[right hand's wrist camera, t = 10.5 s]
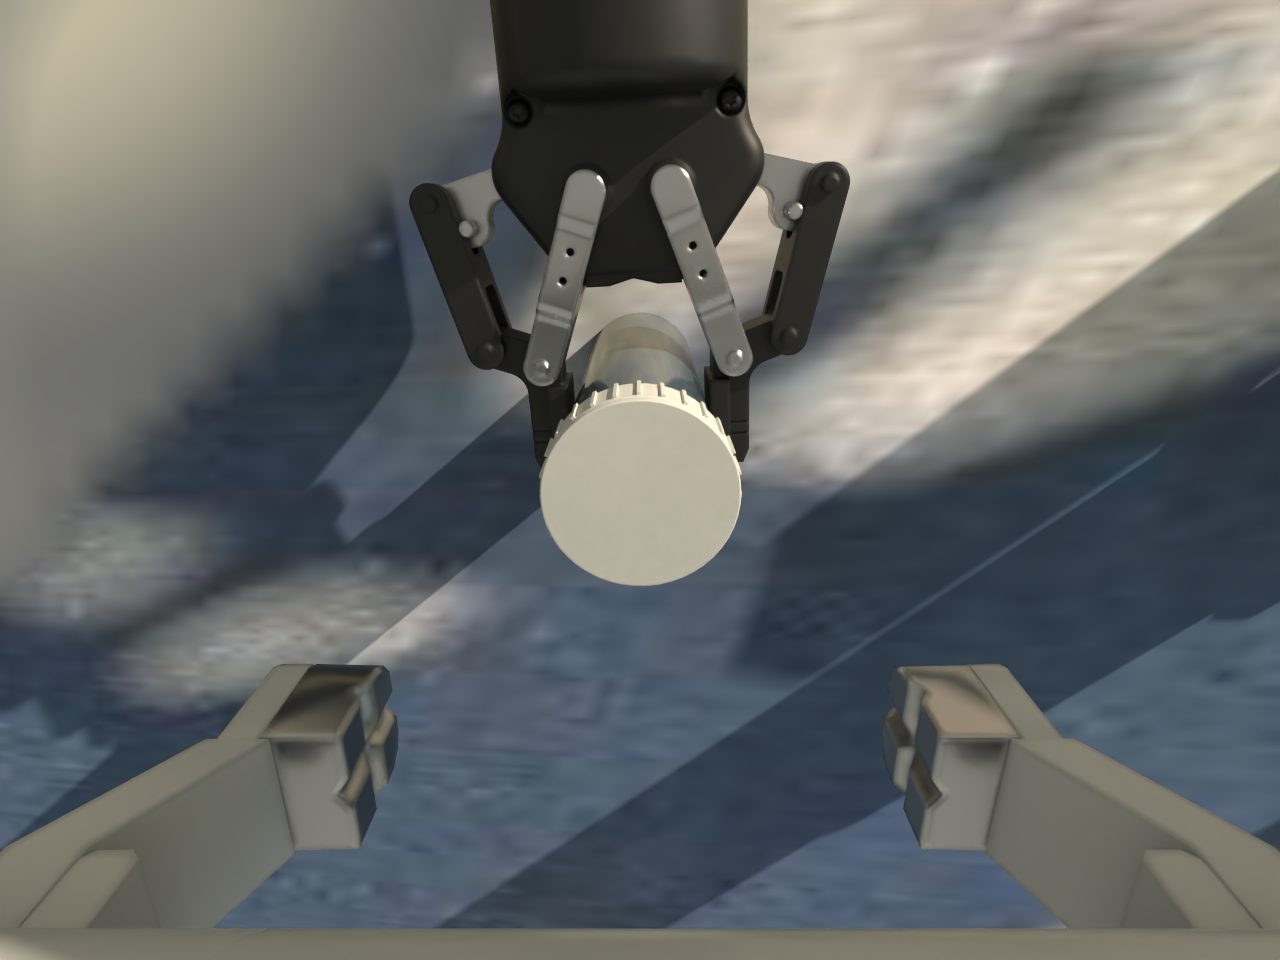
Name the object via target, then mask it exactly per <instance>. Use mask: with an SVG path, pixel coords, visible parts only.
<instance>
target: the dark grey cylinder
mask: <svg viewBox="0 0 1280 960" xmlns="http://www.w3.org/2000/svg"><path fill="white" fill-rule="evenodd" d="M637 380H641V383H649V384H656V385H660V382H662V383H664V386H665V387H669V388H673V389H675V390H677V391H680V392H681V391H682V389H683V390H685V391H686V394H687V395H688V396H690V397H691V398H693V399H695V400H696V401H697V402H699V403H700V402H701V401H702V402H704V403H705V406H706V409H707V410H708V408H707V405H706V401H705V398H704V395H703V392H702V389H701V386H700V383H699V379H698V376H697V373H696V370H695V367H694V364H693V361H692V357H691V354H690V351H689V348H688V345H687V343H686V341H685V339H684V337H683V335H682V334H681V333H680V331H679V330H678V329H677V328H676V327H675V326H674V325H673V324H671V323H670V322H669V321H667V320H665V319H664V318H661V317H659V316H656V315H653V314H648V313H633V314H628V315H625V316H622V317H620V318H617V319H616V320H614V321H612V322H611V323H610V324H608V325H607V326H606V327H605V328H604V329H603V330H602V331H601V333H600V334H599V335H598V337H597V339H596V341H595V343H594V345H593V348H592V351H591V354H590V357H589V361H588V364H587V367H586V370H585V373H584V376H583V379H582V382H581V386H580V389H579V392H578V395H577V398H576V401H575V404H576V403H578V405H580V404H581V403H582V402H584V401H585V400H586V399H588V398H590V397H591V396H592V392H594V391H597V393H598V392H601V391H603V390H606V389H608V388H612V387H613V386H614V384H615V383H618V385H625V384H633V383H637ZM575 404H574V405H575Z"/></svg>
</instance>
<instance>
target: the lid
mask: <svg viewBox="0 0 1280 960" xmlns="http://www.w3.org/2000/svg"><path fill="white" fill-rule="evenodd" d="M554 436H555V437H554V439H553V438H551V439H550V441H549V444H548V446H547V449H546V452H545V455H544V456H545V457H547V459H546V458H545V460H544V463H543V466H542V469H541V471H540V474H539V478H541V482H540V495H539V498H540V504H541V509H542V515H543V518H544V521H545V524H546V526H547V528H548V530H549V532H550V534H551V536H552V538H553V540H554V541H555V543H556V544H557V545H558V547H559V548H560V549H561V550H562V552H563V553H564V554H565V555H566V556H567V557H568V558H569V559H570V560H572V561H573V562H574V563H575V564H576V565H578V566H579V567H580V568H582V569H583V570H585V571H586V572H588V573H590V574H592V575H594V576H596V577H598V578H601V579H604V580H607V581H609V582H613V583H618V584H622V585H630V586H650V585H659V584H663V583H668V582H672V581H674V580H677V579H680V578H683V577H685V576H687V575H689V574H691V573H693V572H694V571H696V570H697V569H699V568H700V567H702V566H704V565H705V564H706V563H707V562H708V561H709V560H711V559H712V558H713V557H714V556H715V555H716V554H717V553H718V551H719V550H720V549H721V548H722V547H723V545H724V544H725V542H726V541H727V540H728V538H729V536H730V534H731V532H732V530H733V528H734V526H735V523H736V520H737V518H738V514H739V509H740V504H741V497H742V492H741V483H740V476H739V475H742V474H741V470H740V467H739V464H738V462H737V459H736V456H733V454H736V452H735V449H734V447H733V444H732V441H731V439H730V436H729V435H728V436H726V435H725V432H724V430H723V427H722V424H721V421H720V419H719V418H718V417H716V418H714V416H713V415H712V414H711V413H710V412H709V411H708V410H707V409H706V406H705V403H704V402H702V401H701V402H700V403H699V402H697V401H696V400H695V399H693V398H691V397H690V396H688V395H687V394H686V391H685V390H683V389H682V391H681V392H680V391H677V390H675V389H673V388H669V387H665V386H664V383H662V382H660V385H656V384H649V383H641V380H637V383H633V384H625V385H618V383H615V384H614V386H613V387H612V388H608V389H606V390H603V391H601V392H598V393H597V391H594V392H592V396H591V397H590V398H588V399H586V400H585V401H584V402H582V403H581V404H580V405H578V403H576V404H575V405H574V407H573V410H572V412H571V413H570V414H569V415H568V416H567V418H566V419H565V420H562V419H561V420H560V422H559V424H558V427H557V430H556V433H555V435H554Z"/></svg>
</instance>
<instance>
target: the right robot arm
mask: <svg viewBox="0 0 1280 960" xmlns="http://www.w3.org/2000/svg"><path fill="white" fill-rule="evenodd" d="M391 692H392V685H391V680H390V674H389V671H388V670H387V669H386V668H385V667H384V666H376V665H329V664H316V665H313V664H281V665H279V666H276V667H274V668H273V669H272V670H271V671H270V672H269V674H268V675H267V676H266V677H265V679H264V680H263V681H262V683H261V684H260V685H259V686H258V688H257V689H256V690H255V691H254V693H253V694H252V695H251V696H250V698H249V699H248V700H247V702H246V703H245V704H244V705H243V707H242V708H241V709H240V710H239V712H238V713H237V714H236V715H235V717H234V718H233V719H232V720H231V722H230V723H229V724H228V726H227V727H226V728H225V729H224V731H223V732H222V733H221V734H220V736H219V737H218V738H217V739H205V740H203V741H201V742H199V743H197V744H195V745H194V746H192V747H190V748H188V749H186V750H184V751H182V752H181V753H179V754H177V755H175V756H173V757H171V758H169V759H168V760H166V761H164V762H162V763H160V764H158V765H156V766H155V767H153V768H151V769H149V770H147V771H145V772H143V773H142V774H140V775H138V776H136V777H134V778H132V779H130V780H129V781H127V782H125V783H123V784H121V785H119V786H117V787H116V788H114V789H112V790H110V791H108V792H106V793H104V794H103V795H101V796H99V797H97V798H95V799H93V800H91V801H90V802H88V803H86V804H84V805H82V806H80V807H79V808H77V809H75V810H73V811H71V812H69V813H67V814H66V815H64V816H62V817H60V818H58V819H56V820H54V821H53V822H51V823H49V824H47V825H45V826H43V827H41V828H40V829H38V830H36V831H34V832H32V833H30V834H28V835H27V836H25V837H23V838H21V839H19V840H17V841H15V842H14V843H12V844H10V845H8V846H6V847H5V848H4V849H3V850H2V851H1V852H0V960H1280V852H1279V851H1278V850H1277V849H1276V848H1275V847H1273V846H1271V845H1270V844H1268V843H1266V842H1264V841H1262V840H1260V839H1258V838H1257V837H1255V836H1253V835H1251V834H1249V833H1247V832H1246V831H1244V830H1242V829H1240V828H1238V827H1236V826H1234V825H1233V824H1231V823H1229V822H1227V821H1225V820H1223V819H1221V818H1220V817H1218V816H1216V815H1214V814H1212V813H1210V812H1209V811H1207V810H1205V809H1203V808H1201V807H1199V806H1197V805H1196V804H1194V803H1192V802H1190V801H1188V800H1186V799H1184V798H1183V797H1181V796H1179V795H1177V794H1175V793H1173V792H1172V791H1170V790H1168V789H1166V788H1164V787H1162V786H1160V785H1159V784H1157V783H1155V782H1153V781H1151V780H1149V779H1147V778H1146V777H1144V776H1142V775H1140V774H1138V773H1136V772H1135V771H1133V770H1131V769H1129V768H1127V767H1125V766H1123V765H1122V764H1120V763H1118V762H1116V761H1114V760H1112V759H1110V758H1109V757H1107V756H1105V755H1103V754H1101V753H1099V752H1097V751H1096V750H1094V749H1092V748H1090V747H1088V746H1086V745H1085V744H1083V743H1081V742H1079V741H1077V740H1075V739H1063V738H1062V737H1061V736H1060V734H1059V733H1058V732H1057V731H1056V729H1055V728H1054V727H1053V726H1052V724H1051V723H1050V722H1049V721H1048V719H1047V718H1046V717H1045V716H1044V714H1043V713H1042V712H1041V711H1040V709H1039V708H1038V707H1037V705H1036V704H1035V703H1034V702H1033V700H1032V699H1031V698H1030V697H1029V695H1028V694H1027V693H1026V692H1025V690H1024V689H1023V688H1022V687H1021V685H1020V684H1019V683H1018V682H1017V680H1016V679H1015V678H1014V676H1013V675H1012V674H1011V673H1010V671H1009V670H1008V669H1007V668H1006V667H1004V666H1002V665H1000V664H972V665H963V666H894V668H893V670H892V672H891V674H890V678H889V684H888V692H889V694H890V697H891V699H892V701H893V703H894V706H893V707H892V708H891V709H890V710H889V711H888V712H887V713H886V714H885V715H884V718H883V727H882V748H883V757H884V761H885V765H886V769H887V772H888V774H889V776H890V779H891V781H892V784H894V785H895V786H896V787H898V788H899V789H900V790H902V791H903V792H904V793H906V795H905V801H904V807H903V809H904V811H905V814H906V816H907V818H908V821H909V823H910V825H911V827H912V830H913V832H914V834H915V836H916V839H917V841H918V843H919V845H920V848H925V849H961V850H986V851H985V854H987V855H988V856H989V857H990V858H991V859H992V860H993V861H994V862H995V863H997V864H998V865H999V866H1000V867H1001V868H1002V869H1003V870H1004V871H1006V872H1007V873H1008V874H1009V875H1010V876H1011V877H1012V878H1013V879H1014V880H1016V881H1017V882H1018V883H1019V884H1020V885H1021V886H1022V887H1023V888H1025V889H1026V890H1027V891H1028V892H1029V893H1030V894H1031V895H1032V896H1033V897H1035V898H1036V899H1037V900H1038V901H1039V902H1040V903H1041V904H1042V905H1044V906H1045V907H1046V908H1047V909H1048V910H1049V911H1050V912H1051V913H1053V914H1054V915H1055V916H1056V917H1057V918H1058V919H1059V920H1060V921H1061V922H1063V923H1064V924H1065V925H1066V926H1067V927H1068V928H1069V929H757V928H333V929H248V928H212V927H213V926H214V925H215V924H217V923H218V922H219V921H220V920H221V919H222V918H223V917H224V916H225V915H227V914H228V913H229V912H230V911H231V910H232V909H233V908H234V907H236V906H237V905H238V904H239V903H240V902H241V901H242V900H243V899H245V898H246V897H247V896H248V895H249V894H250V893H251V892H252V891H254V890H255V889H256V888H257V887H258V886H259V885H260V884H261V883H262V882H264V881H265V880H266V879H267V878H268V877H269V876H270V875H271V874H273V873H274V872H275V871H276V870H277V869H278V868H279V867H280V866H282V865H283V864H284V863H285V862H286V861H287V860H288V859H289V858H291V857H292V856H293V855H294V853H295V852H294V850H318V849H353V848H360V846H361V843H362V841H363V839H364V837H365V834H366V832H367V830H368V827H369V825H370V823H371V821H372V818H373V816H374V814H375V811H376V809H377V807H376V801H375V795H374V793H376V792H377V791H378V790H380V789H381V788H382V787H384V786H385V785H386V784H388V781H389V779H390V776H391V774H392V771H393V769H394V765H395V760H396V755H397V750H398V725H397V718H396V715H395V714H394V713H393V712H392V711H391V710H390V709H389V708H388V707H387V706H386V703H387V701H388V699H389V697H390V694H391Z"/></svg>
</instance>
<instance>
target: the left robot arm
mask: <svg viewBox="0 0 1280 960" xmlns="http://www.w3.org/2000/svg"><path fill="white" fill-rule="evenodd" d="M490 6H491V15H492V24H493V34H494V43H495V52H496V62H497V71H498V80H499V89H500V99H501V108H502V130H501V137H500V140H499V144H498V147H497V149H496V152H495V154H494V157H493V160H492V168H491V169H489V170H486V171H483V172H480V173H477V174H474V175H472V176H469V177H466V178H463V179H460V180H457V181H454V182H451V183H448V184H430V183H425V184H421V185H419V186H417V187H416V188H415V189H414V190H413V191H412V193H411V196H410V200H409V204H410V209H411V212H412V214H413V217H414V219H415V222H416V224H417V227H418V230H419V232H420V235H421V237H422V240H423V242H424V245H425V247H426V250H427V253H428V255H429V258H430V260H431V263H432V265H433V268H434V270H435V273H436V276H437V278H438V281H439V283H440V286H441V288H442V291H443V293H444V296H445V299H446V301H447V304H448V306H449V309H450V311H451V314H452V316H453V319H454V322H455V324H456V327H457V329H458V332H459V334H460V337H461V339H462V342H463V345H464V347H465V350H466V352H467V355H468V357H469V359H470V361H471V362H472V363H473V364H474V365H475V366H476V367H478V368H480V369H484V370H490V369H493V368H494V369H497V370H500V371H504V372H507V373H511V374H513V375H515V376H517V377H519V378H520V379H521V380H522V381H523V382H524V383H525V385H526V387H527V389H528V393H529V401H530V410H531V419H532V428H533V437H534V446H535V455H536V459H537V461H538V463H539V465H540V467H541V468H542V466H543V463H544V460H545V458H546V459H547V457H545V456H544V455H545V452H546V449H547V446H548V444H549V441H550V439H551V438H553V439H554V437H555V436H554V435H555V433H556V430H557V427H558V424H559V422H560V420H561V419H562V420H565V419H566V418H567V416H568V415H569V414H570V413H571V412H572V410H573V407H574V404H575V394H574V383H573V373H566V362H565V360H566V356H567V352H568V349H569V345H570V341H571V338H572V334H573V330H574V326H575V323H576V319H577V315H578V312H579V309H580V306H581V302H582V299H583V295H584V291H585V287H603V286H611V285H614V284H617V283H620V282H623V281H626V280H629V279H633V278H635V279H640V280H644V281H649V282H653V283H658V284H659V283H678V282H682V279H683V280H684V283H685V285H686V288H687V291H688V293H689V296H690V298H691V301H692V303H693V306H694V308H695V311H696V313H697V316H698V319H699V321H700V324H701V326H702V329H703V331H704V334H705V337H706V339H707V342H708V344H709V347H710V366H704V382H705V401H706V405H707V408H708V411H709V412H710V413H711V414H712V415H713V416H714V418H716V417H718V418H719V419H720V421H721V424H722V427H723V430H724V432H725V435H726V436H728V435H729V436H730V439H731V441H732V444H733V447H734V449H735V452H736V454H733V456H736V459H737V462H743V461H744V459H745V456H746V454H747V451H748V449H749V379H750V376H751V373H752V372H753V370H754V369H755V368H756V367H757V366H758V365H759V364H760V363H762V362H764V361H766V360H769V359H771V358H774V357H776V356H779V355H781V354H783V355H793V354H796V353H798V352H799V351H800V350H801V349H802V348H803V347H804V346H805V344H806V341H807V338H808V335H809V331H810V327H811V324H812V320H813V316H814V313H815V309H816V306H817V302H818V298H819V295H820V291H821V287H822V284H823V280H824V277H825V273H826V269H827V266H828V262H829V258H830V255H831V251H832V247H833V244H834V240H835V237H836V233H837V229H838V226H839V222H840V218H841V215H842V211H843V208H844V204H845V200H846V197H847V193H848V189H849V185H850V176H849V173H848V171H847V169H846V168H845V167H844V166H843V165H842V164H840V163H838V162H820V163H815V164H812V163H807V162H803V161H798V160H793V159H789V158H784V157H779V156H775V155H770V154H765V153H764V150H763V146H762V143H761V141H760V139H759V137H758V135H757V134H756V132H755V130H754V127H753V125H752V122H751V119H750V115H749V110H748V98H747V55H748V0H490ZM756 186H758V187H760V188H762V189H763V190H764V191H765V193H766V195H767V197H768V202H769V206H768V216H769V219H770V221H771V223H772V224H773V225H774V226H776V227H777V228H780V229H783V232H782V236H781V240H780V244H779V248H778V252H777V256H776V260H775V264H774V268H773V272H772V276H771V280H770V284H769V288H768V292H767V296H766V300H765V304H764V308H763V312H762V315H761V316H759V317H757V318H754V319H752V320H750V321H747V322H745V323H741V321H740V318H739V315H738V313H737V310H736V307H735V304H734V300H733V296H732V293H731V290H730V288H729V285H728V282H727V279H726V277H725V274H724V271H723V269H722V266H721V263H720V260H719V258H718V255H717V252H716V249H715V248H716V247H717V245H718V244H719V242H720V240H721V239H722V237H723V236H724V234H725V233H726V231H727V230H728V228H729V227H730V225H731V224H732V222H733V221H734V219H735V218H736V216H737V215H738V213H739V211H740V210H741V208H742V207H743V205H744V204H745V202H746V201H747V199H748V198H749V196H750V195H751V193H752V192H753V190H754V189H755V187H756ZM502 200H503V201H504V202H505V204H506V205H507V206H508V207H509V209H510V210H511V211H512V212H513V213H514V215H515V216H516V217H517V218H518V220H519V221H520V222H521V223H522V224H523V226H524V227H525V228H526V229H527V231H528V232H529V233H530V234H531V235H532V237H533V238H534V239H535V240H536V242H537V243H538V244H539V245H540V246H541V248H542V249H543V250H544V251H545V253H546V254H547V255H548V256H549V258H548V262H547V266H546V270H545V274H544V278H543V282H542V286H541V290H540V294H539V298H538V302H537V307H536V316H535V320H534V324H533V329H532V333H531V334H528V333H525V332H522V331H518V330H515V329H512V326H511V324H510V321H509V318H508V315H507V313H506V310H505V307H504V304H503V302H502V299H501V296H500V293H499V291H498V288H497V285H496V282H495V280H494V277H493V274H492V271H491V269H490V266H489V263H488V260H487V258H486V255H485V252H484V249H483V247H482V246H483V245H485V244H487V243H488V242H490V241H491V239H492V238H493V235H494V231H495V226H494V221H493V213H494V209H495V207H496V206H497V204H498V203H499V202H500V201H502Z"/></svg>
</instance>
